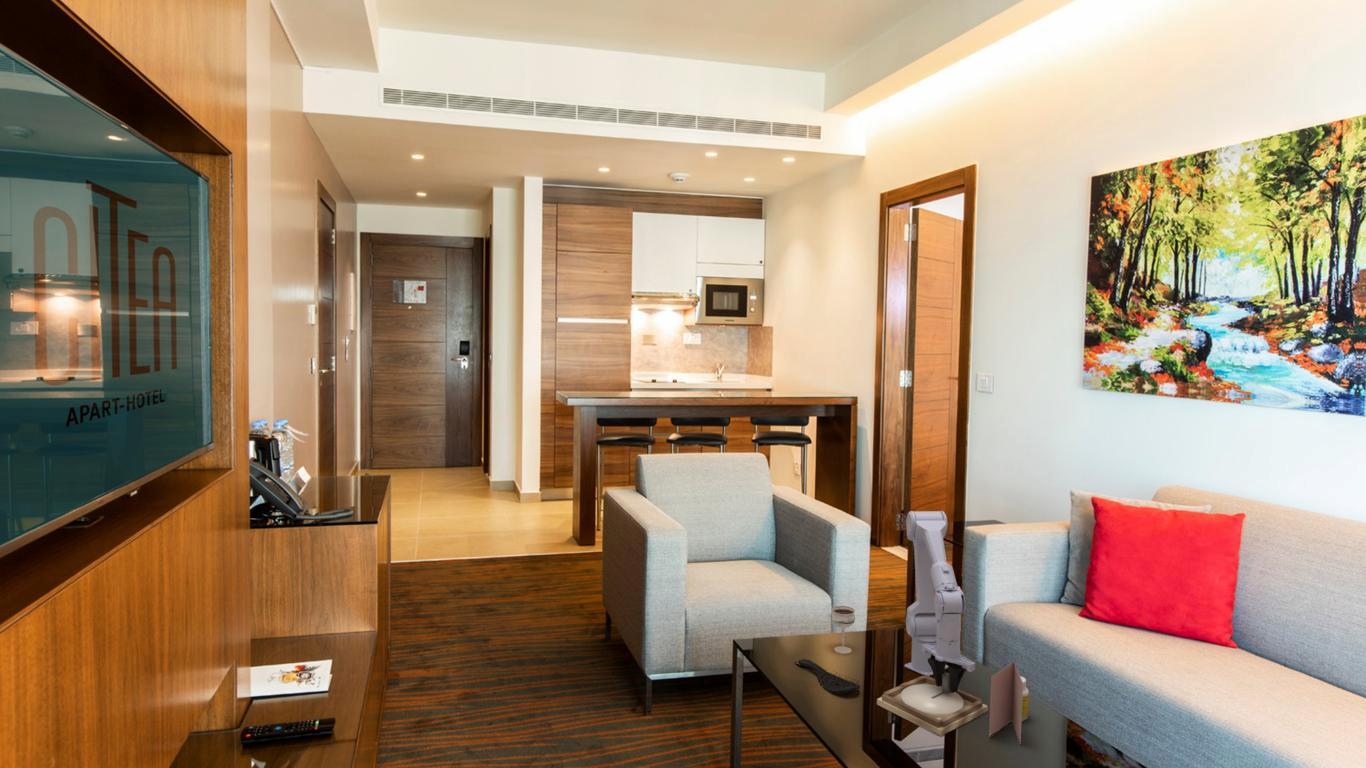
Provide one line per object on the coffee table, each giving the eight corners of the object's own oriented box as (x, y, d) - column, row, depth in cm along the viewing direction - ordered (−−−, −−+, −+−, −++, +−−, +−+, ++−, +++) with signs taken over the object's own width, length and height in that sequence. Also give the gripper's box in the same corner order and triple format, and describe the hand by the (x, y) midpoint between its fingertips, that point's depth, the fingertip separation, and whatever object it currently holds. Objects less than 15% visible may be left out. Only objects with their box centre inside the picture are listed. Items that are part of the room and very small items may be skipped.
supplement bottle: (1017, 724, 200) (1018, 685, 199) (999, 714, 205) (1000, 676, 204) (1032, 718, 203) (1034, 680, 202) (1014, 709, 208) (1016, 671, 207)
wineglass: (830, 644, 246) (830, 605, 245) (853, 645, 246) (854, 606, 244) (831, 654, 239) (832, 614, 238) (855, 655, 239) (856, 615, 237)
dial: (938, 723, 198) (939, 702, 197) (888, 699, 210) (889, 678, 209) (975, 704, 207) (976, 684, 206) (925, 682, 219) (926, 662, 218)
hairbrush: (807, 649, 237) (867, 680, 216) (808, 662, 238) (867, 694, 216) (784, 655, 233) (842, 687, 212) (784, 668, 234) (843, 702, 212)
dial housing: (924, 683, 221) (924, 672, 221) (987, 711, 206) (988, 700, 206) (876, 704, 210) (877, 693, 210) (940, 736, 195) (940, 724, 195)
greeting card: (1008, 719, 203) (1010, 660, 201) (1038, 731, 197) (1041, 670, 196) (985, 736, 195) (987, 675, 193) (1016, 749, 190) (1018, 686, 188)
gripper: (914, 631, 213) (913, 682, 215) (963, 650, 202) (962, 704, 203) (931, 625, 218) (930, 674, 219) (980, 643, 206) (979, 695, 207)
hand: (946, 688), depth 211 cm, fingers open, 4 cm apart
